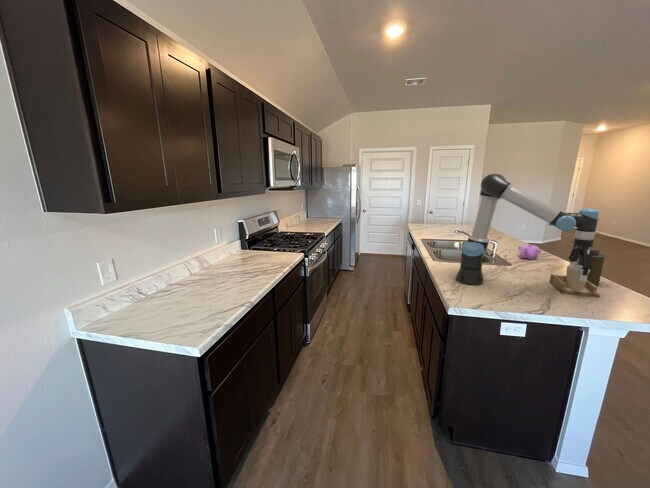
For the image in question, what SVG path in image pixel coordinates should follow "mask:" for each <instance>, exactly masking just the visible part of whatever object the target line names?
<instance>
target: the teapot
mask: <svg viewBox="0 0 650 488" xmlns="http://www.w3.org/2000/svg"><path fill="white" fill-rule="evenodd" d="M517 248H518V251H519V256H518V257H519V258H521V259H523V260H524V259H528V260H530V261H533V260H536V258H538V255H539V254H541V253H542V249H540V247H539V246H536V244H533V245H532V244H525V245H521V246H520V245H519V246H518V247H517Z"/></svg>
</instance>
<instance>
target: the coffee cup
mask: <svg viewBox="0 0 650 488" xmlns="http://www.w3.org/2000/svg"><path fill="white" fill-rule="evenodd" d="M581 268H582V266H580V265H578V264H576V265H570V264H568V265H567V266H566V275H565V276H566V287H567V288H569V289H573V290H584V288H585V285H586V281H580V280H579V279H580V273H581ZM589 271H590V269H589ZM589 271H588V274H589ZM587 278H588V276H587Z"/></svg>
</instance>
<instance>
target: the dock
mask: <svg viewBox="0 0 650 488" xmlns="http://www.w3.org/2000/svg"><path fill="white" fill-rule="evenodd" d="M548 282H549V283H550V285H552V286H553V287H554V288H555V289H556V290H557V291H558V292H559V293H560V294H562V295H573V296H579V297H581V296H583V297H591V298H600V297H601V295H600V293H599V292H597V291H598V286H595V285H594V284H592V283H591V282H589V281H588V280H587V281H586V285H585V288H584V290H573V289H569V288H567V287H566V275H564V274H563V275H562V274H550V275H549V281H548Z"/></svg>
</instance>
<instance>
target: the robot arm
mask: <svg viewBox="0 0 650 488" xmlns="http://www.w3.org/2000/svg"><path fill="white" fill-rule="evenodd" d="M479 196H480V198H481V200H480V203H479V207H478V211H477V214H476V217H475V218H476V219H475V222H474V226H473V230H472V234H471V235H470V236H468V239H467V240H466V241H467V242H464V243H463V244H462V246H461V255H460V256H461V257H460V268H459V269H458V272H457V273H456V277H455V280H456V282H458V283H461V284H464V285H468V286H469V285H470V286H481V285H483V284H484V280H485V277H484V276H483V271H482V267H483V260H484V256H485V255H486V253H487V251H488V249H487V248H488V245H489V239H488V236H489V232H490V228H491V226H492V221H493V217H494V214H495V210H496V207H497V203H498V201H499V200H501V199H503V200H505V201H506V202H508V203H510V204H512V205H515V206H516V207H519V208H520V209H522V210H524V211H526V212H528V213H529V214H531V215H532V216H535V217H537V218H539V219H540V220H542V221H544V222H545V223H548V225H549V226H552V227H556V228H557V229H558V230H559V231H563V232H567V231H571V230H573V229H574V228H576V229H575V233H574V240H573V248H572V250H571V252H570V254H569V256H568V260H569V265H578V259H579V257H580V258H581V262H582V268H581V273H580V279H579V280H580V281H587V276H588V271H589V269H592V261H591V253H592V251H591V250H589V248H592V247H594V239H595V235H596V234H597V233H596V230H597V225H598V222H599V216H600V215H599V214H600V211H599V210H597V209H593V208H590V209H589V208H582V209H580V210H579V211H578V212H563V211H562V210H559V209H558V208H556V207H553V206H552V205H551V204H550V205H549V204H547V203H545V202H543V201H542V200H540V199H538V198H536V197H534V196H532V195H530V194H528V193H526V192H524V191H522V190H520V189H518V188H517V187H514V186H513V184H512V183H511V182H509V181H507V180H506V178H505V176H504V175H502V174H500V173H489V174H487V175H486V176H485V177H483V179H482V180H481V183H480V192H479Z"/></svg>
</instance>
